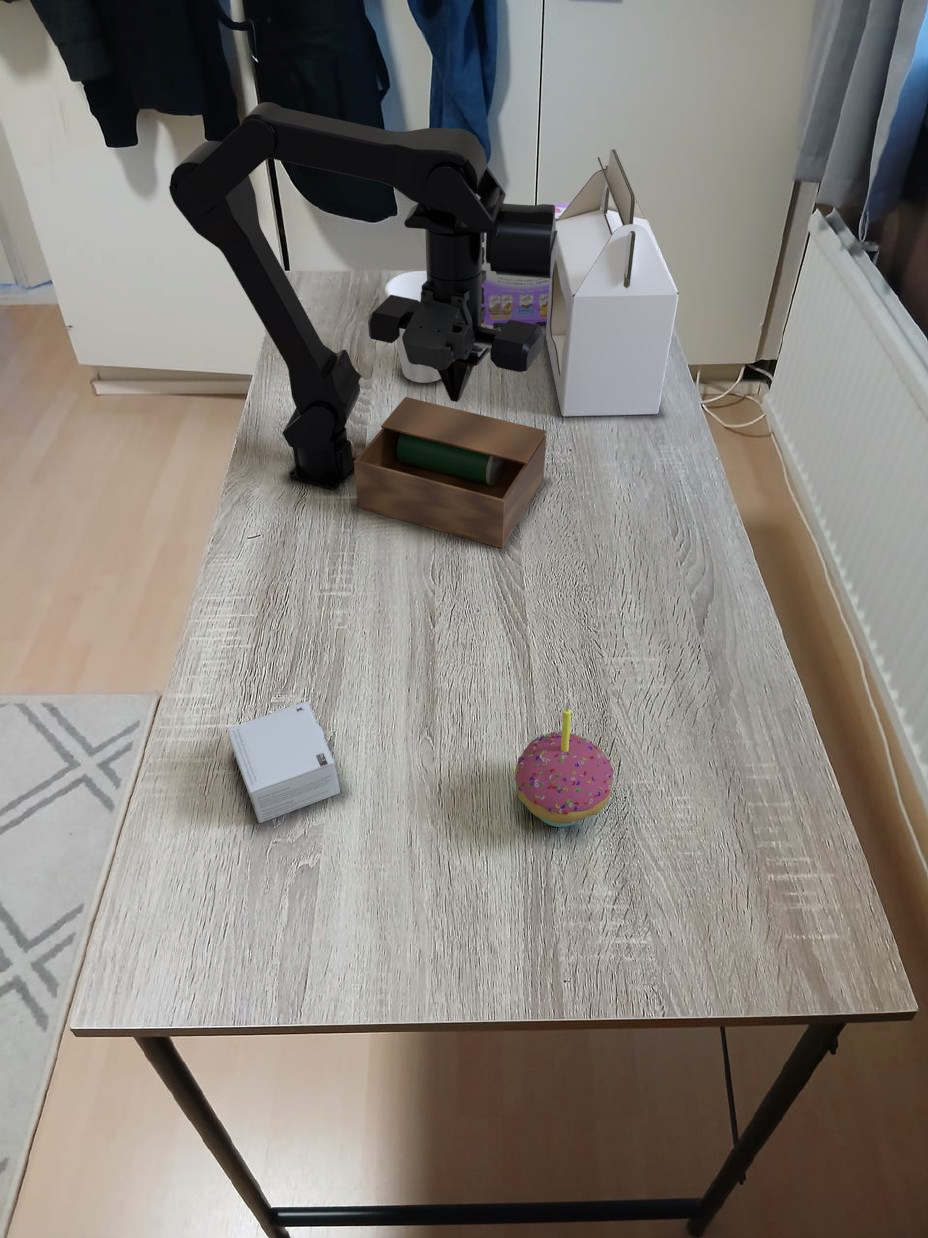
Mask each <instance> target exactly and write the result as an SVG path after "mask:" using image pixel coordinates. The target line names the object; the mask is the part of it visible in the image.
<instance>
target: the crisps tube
mask: <svg viewBox="0 0 928 1238" xmlns="http://www.w3.org/2000/svg"><path fill="white" fill-rule="evenodd" d="M397 457H398V460H399V461H400V462H402V463H406V464H410V465H414V466H418V467H421V468H425V469H429V470H433V471H437V472H441V473H445V474H449V475H453V476H457V477H461V478H465V479H469V480H472V481H476V482H480V483H484V484H488V485H490V486H494V485H495V484H496V483H497V481H498V479H499V477H500V475H501V472H502V469H503V464H504V459H502V458H498V457H494V456H490V455H486V454H482V453H478V452H474V451H470V450H466V449H463V448H459V447H455V446H451V445H447V444H443V443H439V442H435V441H431V440H427V439H423V438H419V437H415V436H411V435H407V434H403V433H400V436H399V439H398V444H397Z"/></svg>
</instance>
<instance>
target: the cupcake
mask: <svg viewBox="0 0 928 1238" xmlns="http://www.w3.org/2000/svg"><path fill="white" fill-rule="evenodd" d="M569 705H570V704H569V701H566V703H565V709H563V711H562V725H561V730H559V731H558V732H557V731H550V732H548V733H546V734H544V733H541V734H540V736H537V737H536V739H531V741H530V743H528V744H527V746H526V747H525V749H523V752H522V753H521V755H520V756H519V757H518V760H517V762H516V763H517V764H516V766H515V769H514V783H515V788H516V795H517V796H518V798H519V800H520V801H521V802H522V803H523V804H524V805H525V807H526V808H527V809H528V810H529V812H530V813H531V814H532V815H534V816H535V817H537V818H538V819H540V820H541V822H543V823H545V824H546V825H548V826H549V825H550V826H551V827H558V828H565V827H570V826H572V825H574V824H576V823H578V822H579V821H582V820H585V819H587V818H588V817H592V816H595V815H598V814H599V813H601V812H602V811H603V810H604V809H605V808H606V806H607V804H608V802H609V801H610V798H611V795H612V788H613V784H614V780H613V777H614V770H615V769H614V768H613V766H612V764H611V763H610V759H608V757H607V756H606V755H605V753H604V752H603V751H602V748H601V747H600V746H599V745H596V744H595V743H593V741H592V740H590V739H588V738H586V737H583V736H581V735H577V734H576V733H573V732H571V719H572V710H571V709H570V708H569V707H570V706H569Z"/></svg>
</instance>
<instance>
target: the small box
mask: <svg viewBox="0 0 928 1238" xmlns="http://www.w3.org/2000/svg"><path fill="white" fill-rule="evenodd" d="M227 734H228V738H229V742H230V745H231V748H232V751H233V754H234V757H235V760H236V762H237V765H238V768H239V772H240V774H241V777H242V779H243V783H244V786H245V787H246V791H247V793H248V797H249V799H250V802H251V805H252V807H253V811H254V813H255V817H256V818H257V822H258V823H259V824H262V823H264V822H267V821H271V820H272V819H275V818H278V817H280V816H283V815H287V814H289V813H291V812H294V811H297V810H300V809H302V808H304V807H307V806H310V805H313V804H315V803H318V802H320V801H324V800H326V799H328V798H332V797H334V796H336V795H338V794H340V792H341V789H340V783H339V779H338V773H337V769H336V768H337V767H336V764H335V763H336V762H335V760H334V757H333V755H332V753H331V751H330V747H329V746H328V744H327V741H326V738H325V732H324V730H323V728H322V727H321V726H320V725H319V722H318V720H317V718H316V715H315V713H314V711H313V709H312V706H311V704H310V701H308V700H307V701H304V702H300V703H297V704H293V705H291V706H287V707H285V708H282V709H279V710H277V711H274V712H271V713H269V714H266V715H262V716H260V717H257V718H253V719H251V720H248V721H245V722H242V723H240V724H237V725H234V726H230V727H228V728H227Z"/></svg>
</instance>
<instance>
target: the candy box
mask: <svg viewBox="0 0 928 1238" xmlns="http://www.w3.org/2000/svg"><path fill="white" fill-rule="evenodd" d="M570 203H571V202H570ZM570 203H557V204H556V203H553V204H550V205H554V206H555V219H556V221H557V220H558V218H559V217H560V216H561V215H562V213H563V212H564V211H565V210H566V208H567V207H568V206H569V205H570ZM482 270H484V271H486V281H485V282H484V283H483V284H482V300H481V307H486V316H485V317H484V318H483V320H482V321H481V323H483V324H488V325H492V326H493V327H504V325H505V324H506V323H507V322H508V320H509V319H510V320H515V321H520V322H525V323H530V324H534V325H539V326H540V325H546V324H547V309H548V295H549V280H550V279H549V278H536V277H523V276H510V275H497V274H496V272H494V271H491V270H490V263H486V233H482Z"/></svg>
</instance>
